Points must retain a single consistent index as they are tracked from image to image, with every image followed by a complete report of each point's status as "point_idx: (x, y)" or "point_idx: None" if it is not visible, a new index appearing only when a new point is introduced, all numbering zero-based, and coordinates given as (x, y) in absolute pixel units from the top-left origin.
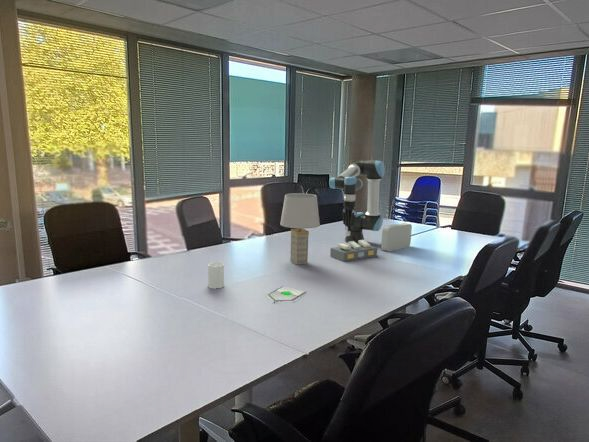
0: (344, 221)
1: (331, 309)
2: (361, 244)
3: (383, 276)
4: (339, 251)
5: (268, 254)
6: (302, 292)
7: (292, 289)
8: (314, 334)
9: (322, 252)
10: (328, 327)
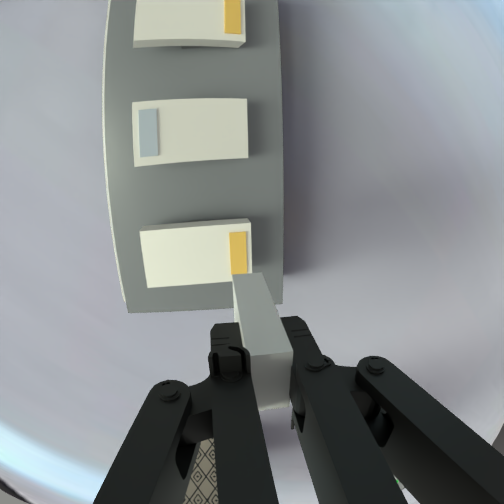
0: (191, 472)
1: None
2: (184, 44)
3: (492, 246)
4: (233, 307)
5: (68, 454)
6: None
7: None
8: None
9: (51, 275)
10: None
